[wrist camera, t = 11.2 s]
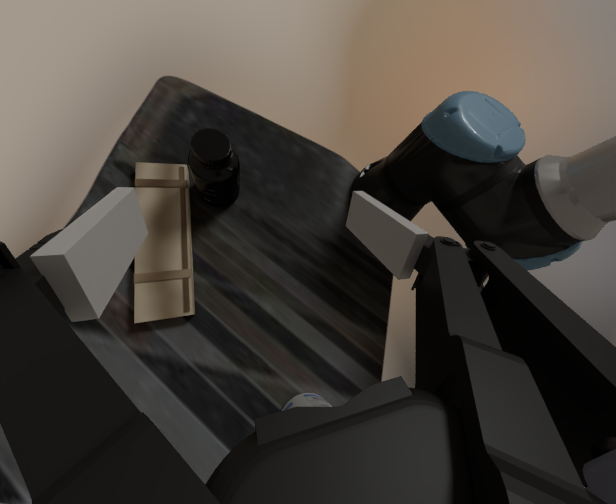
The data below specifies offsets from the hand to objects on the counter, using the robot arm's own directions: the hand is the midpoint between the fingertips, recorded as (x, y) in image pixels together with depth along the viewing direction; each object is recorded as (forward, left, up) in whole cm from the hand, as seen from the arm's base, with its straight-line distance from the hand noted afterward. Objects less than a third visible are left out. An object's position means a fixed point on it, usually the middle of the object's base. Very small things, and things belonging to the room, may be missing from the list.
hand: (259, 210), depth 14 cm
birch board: (+11, -6, -25) cm, 28 cm away
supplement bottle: (+3, -15, -25) cm, 29 cm away
